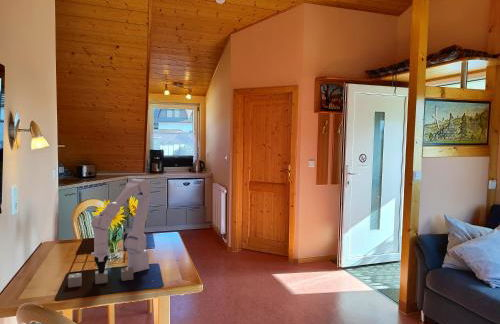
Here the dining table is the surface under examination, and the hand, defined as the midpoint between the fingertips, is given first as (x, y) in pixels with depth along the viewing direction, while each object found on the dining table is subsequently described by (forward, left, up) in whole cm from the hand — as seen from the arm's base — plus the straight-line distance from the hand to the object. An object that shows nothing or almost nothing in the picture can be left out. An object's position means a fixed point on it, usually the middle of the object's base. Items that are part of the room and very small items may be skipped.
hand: (101, 272), depth 161 cm
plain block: (0, 0, -4) cm, 4 cm away
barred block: (-10, +4, -4) cm, 12 cm away
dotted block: (+10, -4, -4) cm, 11 cm away
